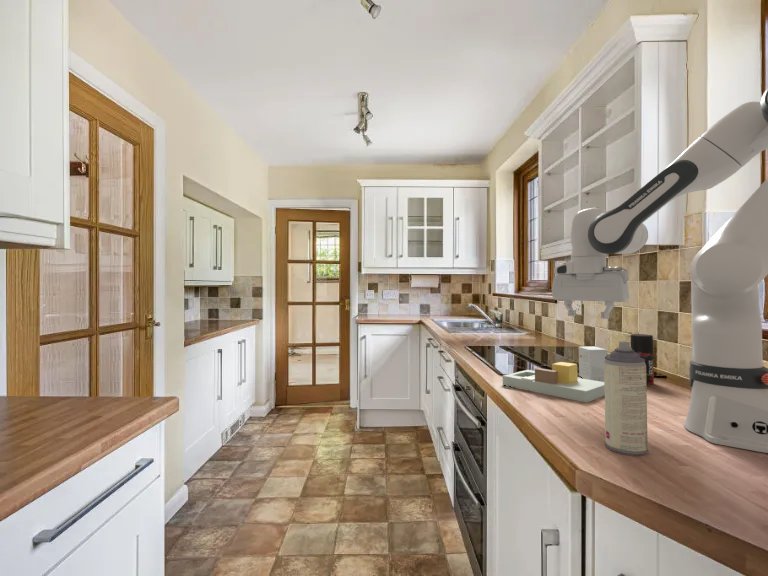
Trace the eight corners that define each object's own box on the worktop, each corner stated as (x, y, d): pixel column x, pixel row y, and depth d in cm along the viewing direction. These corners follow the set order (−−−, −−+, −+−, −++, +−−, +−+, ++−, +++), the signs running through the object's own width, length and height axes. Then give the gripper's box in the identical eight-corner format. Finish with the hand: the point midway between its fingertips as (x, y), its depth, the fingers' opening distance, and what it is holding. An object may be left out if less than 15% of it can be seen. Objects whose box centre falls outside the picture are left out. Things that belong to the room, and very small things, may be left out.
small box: (608, 382, 128) (607, 349, 128) (590, 382, 128) (589, 349, 128) (595, 377, 136) (594, 346, 136) (578, 377, 136) (578, 346, 136)
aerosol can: (634, 441, 79) (632, 339, 79) (656, 456, 72) (654, 344, 72) (598, 441, 79) (597, 339, 80) (616, 455, 73) (614, 344, 73)
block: (577, 381, 118) (577, 364, 118) (568, 383, 114) (568, 366, 115) (561, 378, 122) (560, 361, 122) (552, 381, 118) (552, 363, 118)
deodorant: (635, 379, 131) (634, 333, 131) (656, 382, 127) (655, 335, 127) (628, 382, 127) (627, 335, 128) (649, 385, 123) (648, 336, 123)
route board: (609, 393, 115) (609, 370, 115) (586, 402, 106) (586, 377, 106) (527, 378, 135) (527, 359, 135) (502, 385, 127) (502, 364, 127)
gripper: (633, 266, 105) (633, 319, 105) (561, 269, 122) (561, 314, 122) (621, 265, 102) (621, 320, 102) (548, 268, 119) (548, 315, 119)
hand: (588, 317), depth 112 cm, fingers open, 8 cm apart
